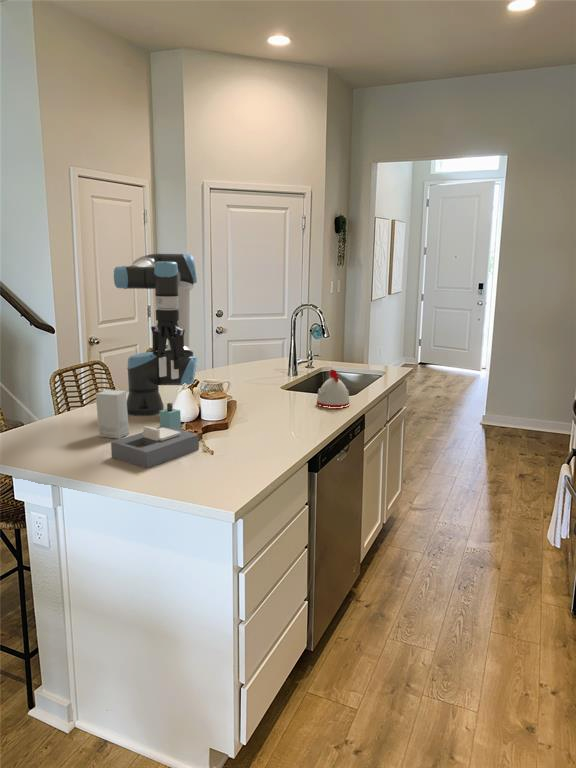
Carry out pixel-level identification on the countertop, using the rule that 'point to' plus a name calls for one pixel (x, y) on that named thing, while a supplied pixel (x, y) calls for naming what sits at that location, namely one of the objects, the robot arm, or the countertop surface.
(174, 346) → the robot arm
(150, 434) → the white l-shaped bracket
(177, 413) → the teal square bottle
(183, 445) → the socket block
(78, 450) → the countertop surface
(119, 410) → the skincare box
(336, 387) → the white knitted dome
